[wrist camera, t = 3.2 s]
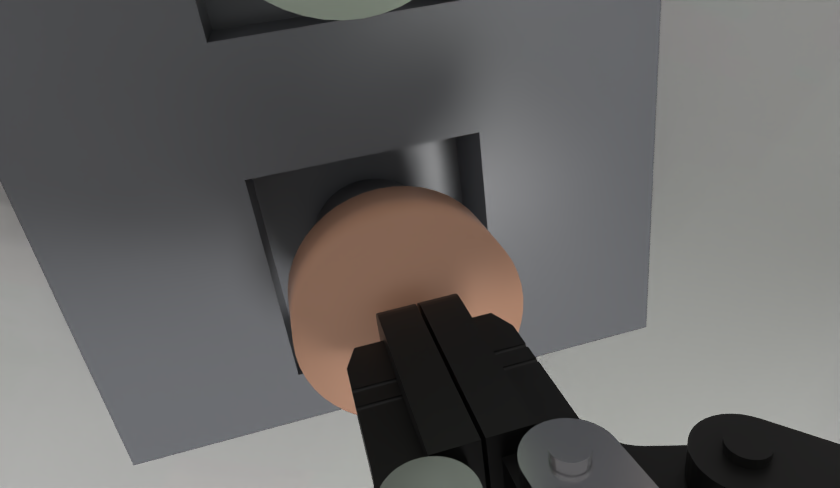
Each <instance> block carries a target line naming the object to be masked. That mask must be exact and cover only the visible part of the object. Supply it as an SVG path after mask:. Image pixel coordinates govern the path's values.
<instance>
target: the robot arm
mask: <svg viewBox="0 0 840 488" xmlns="http://www.w3.org/2000/svg"><path fill="white" fill-rule="evenodd" d="M376 320H377V326H378V331H379V336H380V341H379V342H375V343H372V344H368V345H364V346H360V347H356V348H354V350H353V353H352V355H351V358H350V361H349V364H348V367H347V372H348V377H349V381H350V386H351V390H352V394H353V399H354V403H355V408H356V412H357V416H358V421H359V425H360V429H361V434H362V438H363V442H364V446H365V451H366V455H367V459H368V463H369V467H370V471H371V475H372V480H373V484H374V488H840V444H837V443H834V442H831V441H828V440H825V439H822V438H819V437H816V436H813V435H809V434H806V433H803V432H800V431H797V430H794V429H791V428H788V427H785V426H782V425H778V424H775V423H772V422H769V421H766V420H763V419H760V418H756V417H752V416H748V415H741V414H720V415H715V416H711V417H708V418H705V419H704V420H702V421H700V422H699V423H697V424H696V425H695V426H694V427H693V429H692V430H691V432H690V434H689V437H688V444H687V445H679V446H634V445H627V444H622V443H619V442H618V441H617V439H616V438H615V437H614V436H613V435H612V434H611V433H609V432H608V431H607V430H605V429H604V428H602V427H600V426H598V425H596V424H594V423H591V422H589V421H585V420H581V419H579V418H578V416H577V415H576V413H575V412H574V411H573V409H572V408H571V406H570V405H569V404H568V402H567V401H566V399H565V398H564V397H563V395H562V394H561V392H560V391H559V389H558V388H557V387H556V385H555V384H554V382H553V381H552V380H551V378H550V377H549V375H548V374H547V373H546V371H545V370H544V368H543V367H542V366H541V364H540V363H539V362H537V360H536V357H535V356H534V354H533V353H532V351H531V350H530V349H529V347H526V343H525V342H524V340H523V339H522V337H521V336H520V335H519V333H518V332H517V330H516V329H515V327H514V326H513V325H512V324H510V323H508V322H506V321H505V320H503V319H501V318H499V317H498V316H496V315H494V314H493V313H488V314H484V315H480V316H476V317H472V316H471V315H470V313H469V312H468V310H467V308H466V307H465V305H464V303H463V302H462V300H461V299H460V297H459V296H458V294H456V293H455V294H451V295H447V296H443V297H439V298H435V299H431V300H427V301H423V302H419V303H417V306H416V304H412V305H408V306H404V307H400V308H396V309H392V310H387V311H383V312H379V313H376Z"/></svg>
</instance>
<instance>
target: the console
mask: <svg viewBox="0 0 840 488" xmlns="http://www.w3.org/2000/svg"><path fill="white" fill-rule="evenodd" d="M660 11H661V0H411V1H410V2H408V3H406V4H404V5H403V6H401V7H399V8H396V9H394V10H391V11H388V12H386V13H383V14H380V15H376V16H372V17H368V18H364V19H354V20H323V19H317V18H312V17H306V16H302V15H299V14H296V13H293V12H290V11H287V10H284V9H281V8H279V7H277V6H275V5H273V4H271V3H269V2H267V1H264V0H0V181H1V183H2V185H3V188H4V190H5V192H6V194H7V196H8V198H9V200H10V203H11V205H12V207H13V209H14V211H15V213H16V215H17V217H18V220H19V222H20V224H21V226H22V228H23V230H24V232H25V235H26V237H27V239H28V241H29V243H30V245H31V247H32V249H33V252H34V254H35V256H36V258H37V260H38V262H39V264H40V267H41V269H42V271H43V273H44V275H45V277H46V279H47V281H48V284H49V286H50V288H51V290H52V292H53V294H54V296H55V299H56V301H57V303H58V305H59V307H60V309H61V311H62V313H63V316H64V318H65V320H66V322H67V324H68V326H69V328H70V331H71V333H72V335H73V337H74V339H75V341H76V343H77V345H78V348H79V350H80V352H81V354H82V356H83V358H84V360H85V363H86V365H87V367H88V369H89V371H90V373H91V375H92V377H93V380H94V382H95V384H96V386H97V388H98V390H99V392H100V395H101V397H102V399H103V401H104V403H105V405H106V407H107V409H108V412H109V414H110V416H111V418H112V420H113V422H114V424H115V427H116V429H117V431H118V433H119V435H120V437H121V439H122V441H123V444H124V446H125V448H126V450H127V452H128V454H129V456H130V458H131V461H132V463H133V465H137V464H140V463H144V462H148V461H151V460H155V459H159V458H163V457H166V456H170V455H174V454H177V453H181V452H185V451H188V450H192V449H196V448H200V447H203V446H207V445H211V444H214V443H218V442H222V441H225V440H229V439H233V438H237V437H240V436H244V435H248V434H251V433H255V432H259V431H263V430H266V429H270V428H274V427H277V426H281V425H285V424H288V423H292V422H296V421H300V420H303V419H307V418H311V417H314V416H318V415H322V414H325V413H329V412H333V411H337V410H340V409H341V408H339V407H337V406H335V405H334V404H332V403H331V402H329V401H328V400H326V399H325V398H323V397H322V396H321V395H320V394H319V393H318V392H317V391H316V390H315V389H314V388H313V387H312V385H311V384H310V383H309V382H308V380H307V379H306V378H305V376H304V374H303V372H302V370H301V369H300V366H299V364H298V361H297V358H296V355H295V351H294V345H293V339H292V330H291V321H290V312H289V304H288V280H289V273H290V269H291V265H292V262H293V259H294V257H295V255H296V252H297V250H298V248H299V246H300V245H301V243H302V241H303V240H304V238H305V236H306V235H307V234H308V233H309V231H310V230H311V229H312V228H313V226H314V225H315V224H316V221H317V218H318V216H319V213H320V211H321V210H322V208H323V206H324V205H325V204H326V202H327V201H328V200H329V199H330V198H331V197H332V196H333V195H334V194H335V193H337V192H338V191H339V190H341V189H342V188H344V187H346V186H348V185H350V184H352V183H355V182H358V181H362V180H367V179H385V180H390V181H394V182H397V183H399V184H401V185H403V186H413V187H423V188H427V189H431V190H435V191H438V192H440V193H443V194H445V195H448V196H450V197H452V198H453V199H455V200H457V201H459V202H460V203H461V204H463V205H464V206H465V207H467V208H468V209H469V210H470V211H471V212H472V213H473V214H474V215H475V216H476V217H477V218H478V219H479V221H480V222H481V223H482V224H483V225H484V226H485V228H486V229H487V230H488V231H489V232H490V233H491V235H492V236H493V237H494V238H495V239H496V240H497V242H498V243H499V244H500V245H501V246H502V247H503V249H504V250H505V251H506V253H507V254H508V255H509V257H510V258H511V260H512V261H513V263H514V265H515V268H516V270H517V272H518V275H519V278H520V281H521V285H522V292H523V314H522V321H521V325H520V329H519V332H518V333H519V335H520V336H521V337H522V339H523V340H524V342H525V343H526V347H529V349H530V350H531V351H532V353H533V354H534V356H535V357H537V356H540V355H544V354H548V353H551V352H555V351H559V350H562V349H566V348H570V347H574V346H577V345H581V344H585V343H588V342H592V341H596V340H600V339H603V338H607V337H611V336H614V335H618V334H622V333H625V332H629V331H633V330H637V329H640V328H644V327H646V318H647V296H648V274H649V252H650V230H651V208H652V186H653V164H654V142H655V120H656V99H657V77H658V55H659V33H660Z"/></svg>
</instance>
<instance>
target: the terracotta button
mask: <svg viewBox="0 0 840 488" xmlns="http://www.w3.org/2000/svg"><path fill="white" fill-rule="evenodd" d="M455 293H456V294H458V296H459V297H460V299H461V300H462V302H463V303H464V305H465V307H466V308H467V310H468V312H469V313H470V315H471V316H472V317H476V316H480V315H484V314H488V313H493V314H494V315H496V316H498V317H499V318H501V319H503V320H505V321H506V322H508V323H510V324H512V325H513V326H514V327H515V329H516V330H517V332H519V329H520V325H521V321H522V314H523V292H522V285H521V281H520V278H519V275H518V272H517V270H516V268H515V265H514V263H513V261H512V260H511V258H510V257H509V255H508V254H507V253H506V251H505V250H504V249H503V247H502V246H501V245H500V244H499V243H498V242H497V240H496V239H495V238H494V237H493V236H492V235H491V233H490V232H489V231H488V230H487V229H486V228H485V226H484V225H483V224H482V223H481V222H480V221H479V219H478V218H477V217H476V216H475V215H474V214H473V213H472V212H471V211H470V210H469V209H468V208H467V207H465V206H464V205H463V204H461V203H460V202H459V201H457V200H455V199H453V198H452V197H450V196H448V195H445V194H443V193H440V192H438V191H435V190H431V189H427V188H423V187H413V186H403V185H401V184H399V183H397V182H394V181H390V180H385V179H367V180H362V181H358V182H355V183H352V184H350V185H348V186H346V187H344V188H342V189H341V190H339V191H338V192H337V193H335V194H334V195H333V196H332V197H331V198H330V199H329V200H328V201H327V202H326V204H325V205H324V206H323V208H322V210H321V211H320V213H319V216H318V218H317V221H316V224H315V225H314V226H313V228H312V229H311V230H310V231H309V233H308V234H307V235H306V236H305V238H304V240H303V241H302V243H301V245H300V246H299V248H298V250H297V252H296V255H295V257H294V259H293V262H292V265H291V269H290V273H289V280H288V304H289V312H290V321H291V330H292V339H293V345H294V351H295V355H296V358H297V361H298V364H299V366H300V369H301V370H302V372H303V374H304V376H305V378H306V379H307V380H308V382H309V383H310V384H311V385H312V387H313V388H314V389H315V390H316V391H317V392H318V393H319V394H320V395H321V396H322V397H323V398H325V399H326V400H328V401H329V402H331V403H332V404H334V405H335V406H337V407H339V408H341V409H343V410H345V411H348V412H350V413H353V414H356V415H357V412H356V408H355V403H354V399H353V394H352V390H351V386H350V381H349V377H348V372H347V367H348V364H349V361H350V358H351V355H352V353H353V350H354V348H356V347H360V346H364V345H368V344H372V343H375V342H379V341H380V336H379V331H378V326H377V320H376V313H379V312H383V311H387V310H392V309H396V308H400V307H404V306H408V305H412V304H416V306H417V303H419V302H423V301H427V300H431V299H435V298H439V297H443V296H447V295H451V294H455Z"/></svg>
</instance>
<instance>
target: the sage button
mask: <svg viewBox="0 0 840 488" xmlns="http://www.w3.org/2000/svg"><path fill="white" fill-rule="evenodd" d="M264 1H267V2H269V3H271V4H273V5H275V6H277V7H279V8H281V9H284V10H287V11H290V12H293V13H296V14H299V15H302V16H306V17H312V18H317V19H323V20H354V19H364V18H368V17H372V16H376V15H380V14H383V13H386V12H388V11H391V10H394V9H396V8H399V7H401V6H403V5H404V4H406V3H408V2H410V1H411V0H264Z"/></svg>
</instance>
